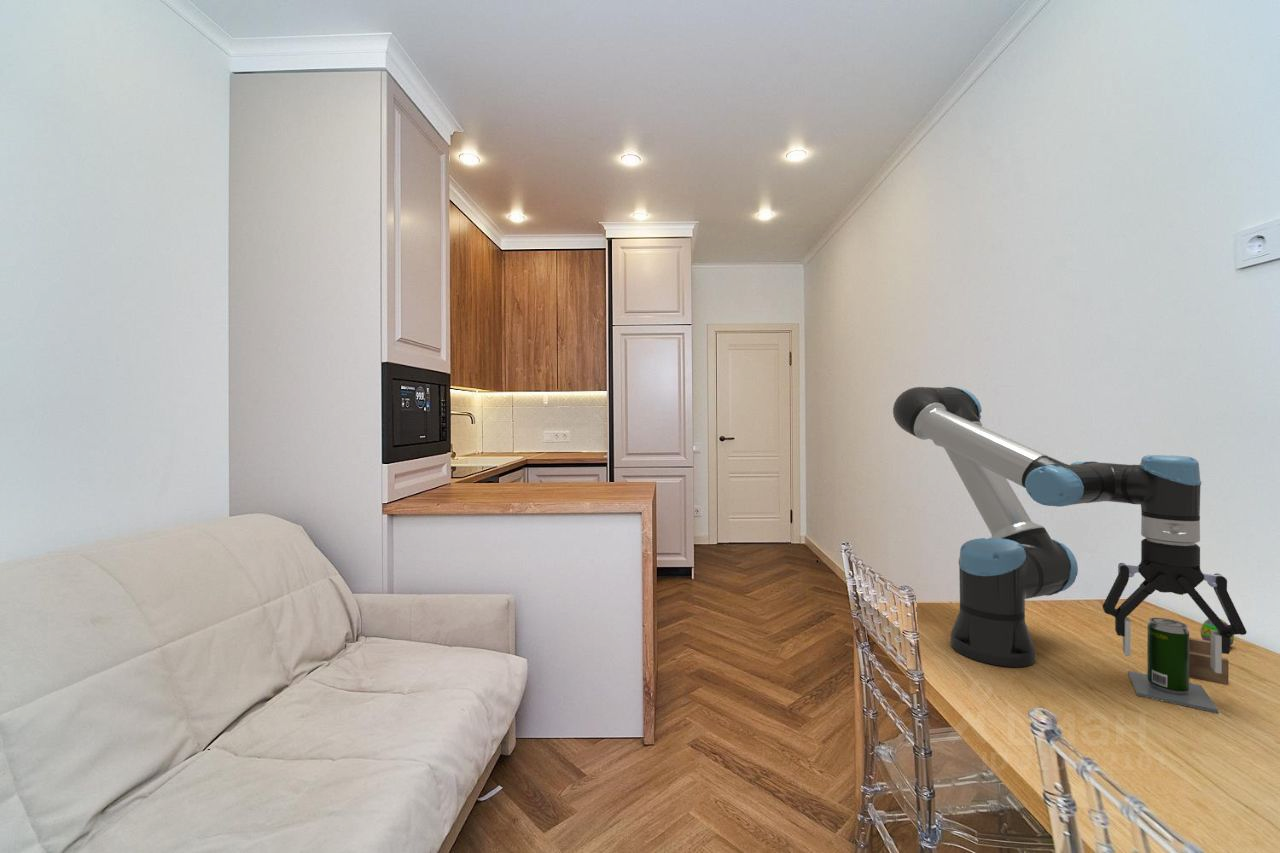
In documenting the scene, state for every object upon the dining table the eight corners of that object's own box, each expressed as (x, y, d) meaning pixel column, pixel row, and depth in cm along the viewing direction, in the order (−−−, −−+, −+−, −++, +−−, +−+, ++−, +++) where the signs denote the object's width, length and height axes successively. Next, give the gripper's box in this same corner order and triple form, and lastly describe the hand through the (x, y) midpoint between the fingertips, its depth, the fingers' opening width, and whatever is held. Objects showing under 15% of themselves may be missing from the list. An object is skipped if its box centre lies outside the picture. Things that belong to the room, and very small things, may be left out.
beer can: (1182, 698, 92) (1182, 630, 92) (1142, 685, 97) (1142, 620, 97) (1194, 690, 95) (1194, 624, 94) (1154, 678, 99) (1154, 615, 99)
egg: (1210, 639, 118) (1210, 612, 118) (1239, 648, 113) (1240, 621, 113) (1194, 641, 117) (1194, 615, 116) (1223, 651, 112) (1223, 623, 112)
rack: (1161, 671, 103) (1161, 648, 103) (1150, 652, 112) (1150, 631, 111) (1228, 684, 98) (1228, 660, 98) (1211, 663, 106) (1211, 641, 106)
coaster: (1137, 695, 94) (1137, 692, 94) (1127, 673, 102) (1127, 670, 102) (1218, 713, 88) (1218, 709, 88) (1201, 688, 97) (1201, 685, 97)
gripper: (1087, 537, 99) (1087, 653, 99) (1276, 554, 85) (1275, 688, 85) (1083, 530, 105) (1083, 639, 105) (1258, 545, 91) (1258, 670, 92)
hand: (1169, 661), depth 95 cm, fingers open, 11 cm apart
